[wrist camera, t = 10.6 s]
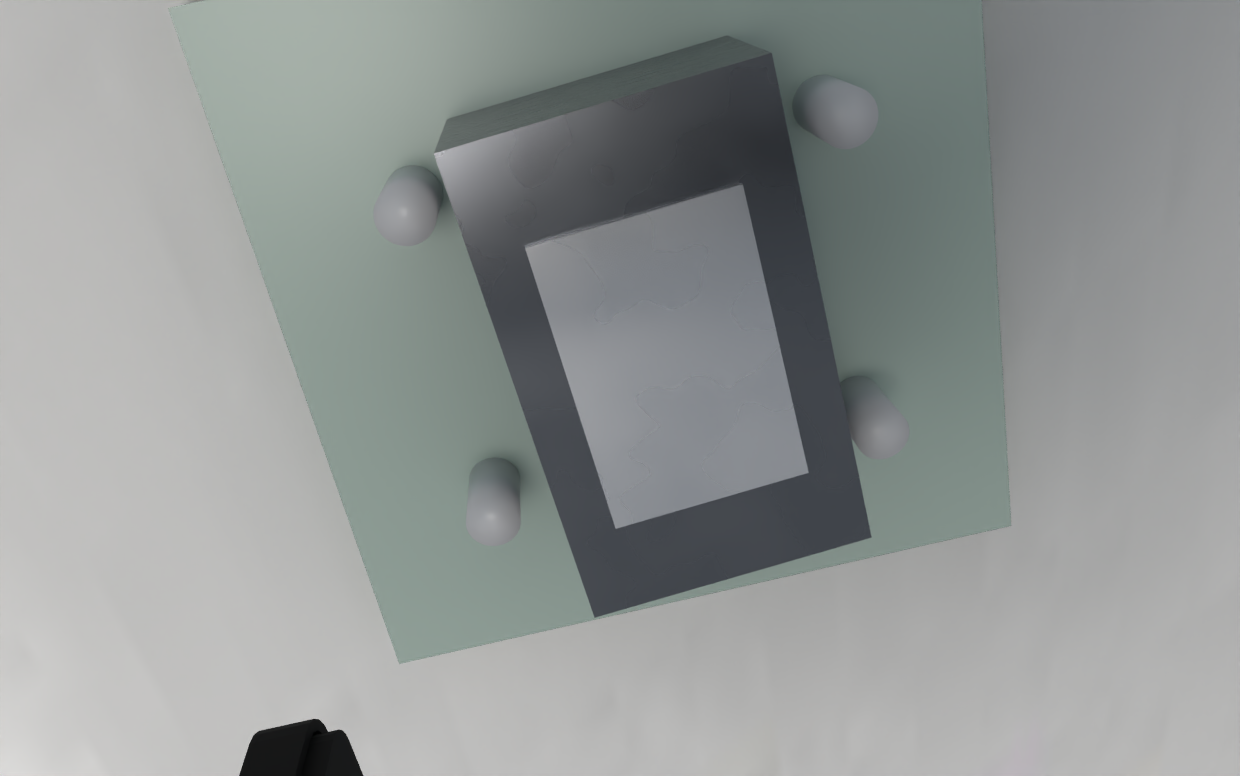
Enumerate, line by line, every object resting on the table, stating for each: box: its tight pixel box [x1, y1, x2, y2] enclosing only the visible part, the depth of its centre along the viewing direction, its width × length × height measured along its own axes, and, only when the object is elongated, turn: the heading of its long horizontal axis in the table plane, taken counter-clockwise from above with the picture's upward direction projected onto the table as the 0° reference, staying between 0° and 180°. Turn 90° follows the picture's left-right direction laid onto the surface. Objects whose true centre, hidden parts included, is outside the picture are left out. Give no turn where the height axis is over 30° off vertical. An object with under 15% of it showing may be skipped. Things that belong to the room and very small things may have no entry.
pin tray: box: [168, 0, 1011, 664], centre depth 23 cm, size 16×16×3 cm
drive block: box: [434, 36, 872, 618], centre depth 21 cm, size 6×10×4 cm, turn 16°
